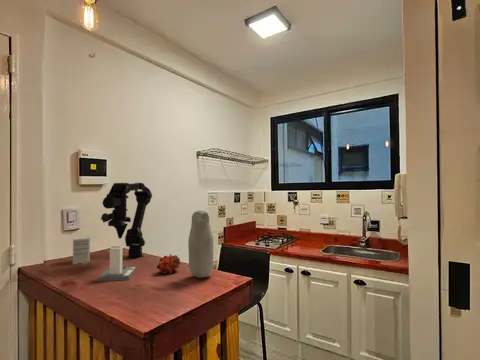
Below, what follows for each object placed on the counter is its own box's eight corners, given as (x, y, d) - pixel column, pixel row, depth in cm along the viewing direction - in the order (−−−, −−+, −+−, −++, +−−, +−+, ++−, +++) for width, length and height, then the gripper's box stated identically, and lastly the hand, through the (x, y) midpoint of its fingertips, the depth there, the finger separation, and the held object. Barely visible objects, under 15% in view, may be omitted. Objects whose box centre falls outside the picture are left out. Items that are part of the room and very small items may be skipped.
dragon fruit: (182, 272, 126) (159, 283, 118) (172, 260, 131) (149, 268, 122) (186, 260, 123) (163, 270, 114) (176, 247, 127) (153, 255, 118)
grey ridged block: (74, 261, 144) (74, 237, 144) (90, 259, 147) (90, 236, 148) (72, 264, 137) (72, 239, 138) (88, 262, 140) (89, 238, 141)
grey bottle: (217, 275, 117) (217, 210, 118) (202, 282, 108) (202, 211, 109) (199, 272, 122) (199, 209, 123) (183, 278, 113) (183, 211, 114)
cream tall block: (112, 272, 117) (112, 245, 117) (122, 272, 117) (122, 244, 118) (109, 275, 113) (109, 246, 113) (119, 275, 113) (119, 246, 114)
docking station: (108, 271, 124) (108, 266, 124) (136, 270, 126) (136, 265, 126) (97, 281, 110) (97, 275, 111) (128, 279, 112) (128, 274, 112)
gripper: (109, 206, 146) (109, 236, 145) (96, 208, 128) (96, 242, 127) (131, 206, 148) (130, 235, 147) (121, 208, 129) (121, 241, 129)
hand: (120, 238), depth 137 cm, fingers closed
